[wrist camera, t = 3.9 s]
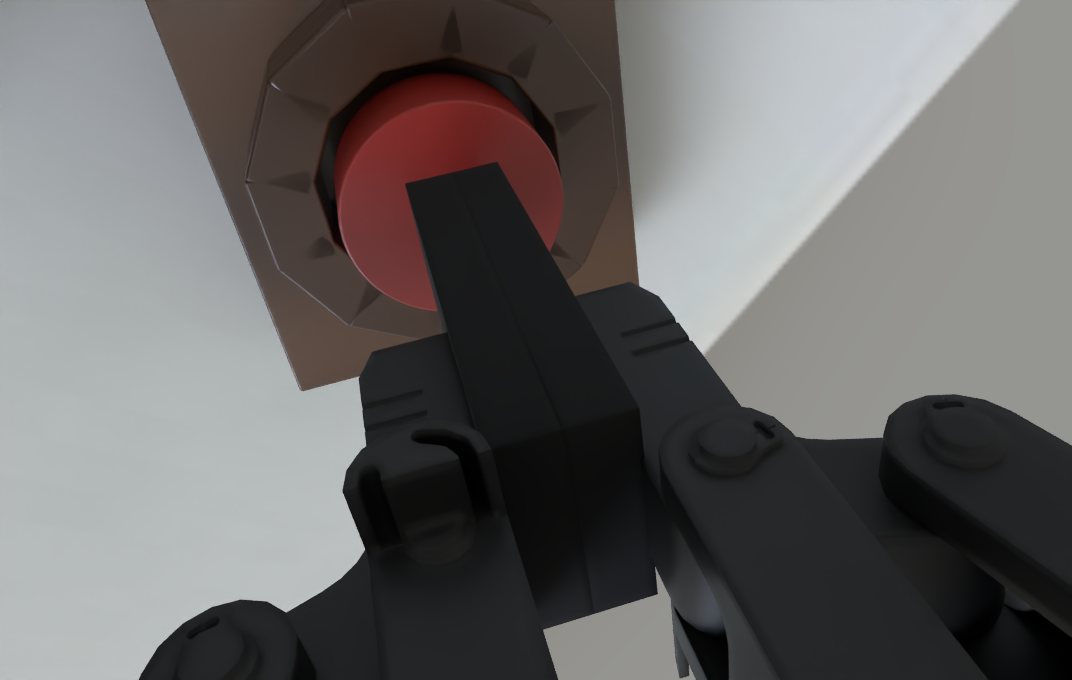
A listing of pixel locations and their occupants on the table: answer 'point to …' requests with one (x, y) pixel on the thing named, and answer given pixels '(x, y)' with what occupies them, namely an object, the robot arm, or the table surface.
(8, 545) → the table surface
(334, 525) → the table surface
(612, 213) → the switch box
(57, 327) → the table surface
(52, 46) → the table surface
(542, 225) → the red push button
